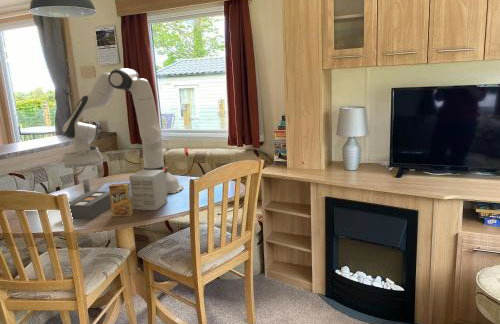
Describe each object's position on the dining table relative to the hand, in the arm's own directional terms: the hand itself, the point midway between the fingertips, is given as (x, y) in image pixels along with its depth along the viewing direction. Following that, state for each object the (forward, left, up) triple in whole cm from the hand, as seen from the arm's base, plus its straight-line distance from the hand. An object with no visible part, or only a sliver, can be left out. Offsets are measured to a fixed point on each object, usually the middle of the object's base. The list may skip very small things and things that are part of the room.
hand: (84, 171), depth 216 cm
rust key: (-17, +25, -11) cm, 32 cm away
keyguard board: (-17, +25, -14) cm, 33 cm away
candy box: (-36, +29, -14) cm, 48 cm away
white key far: (-17, +32, -11) cm, 37 cm away
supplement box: (-44, +15, -14) cm, 49 cm away
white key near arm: (-17, +18, -11) cm, 27 cm away
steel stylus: (-5, +8, -14) cm, 17 cm away
